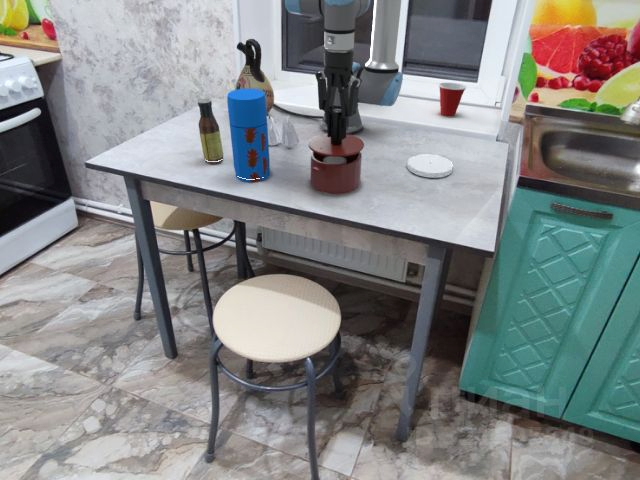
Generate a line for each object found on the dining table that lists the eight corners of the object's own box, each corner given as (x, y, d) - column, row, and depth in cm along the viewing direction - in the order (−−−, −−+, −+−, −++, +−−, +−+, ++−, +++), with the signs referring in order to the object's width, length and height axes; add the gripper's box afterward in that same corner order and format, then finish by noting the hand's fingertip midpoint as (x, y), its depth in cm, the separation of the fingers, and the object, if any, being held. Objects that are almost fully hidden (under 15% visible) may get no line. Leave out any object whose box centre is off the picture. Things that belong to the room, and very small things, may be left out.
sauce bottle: (227, 158, 157) (220, 98, 145) (218, 166, 152) (210, 105, 140) (209, 156, 158) (201, 96, 147) (200, 163, 153) (191, 102, 142)
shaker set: (300, 146, 165) (299, 115, 159) (295, 150, 162) (294, 119, 156) (270, 140, 169) (268, 110, 163) (264, 145, 166) (262, 114, 160)
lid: (297, 149, 134) (296, 112, 128) (329, 132, 145) (329, 97, 139) (344, 163, 126) (345, 125, 120) (374, 144, 137) (376, 108, 131)
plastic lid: (442, 184, 142) (444, 177, 141) (399, 173, 148) (400, 166, 147) (458, 167, 152) (459, 160, 150) (417, 157, 158) (418, 150, 157)
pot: (295, 189, 139) (294, 160, 134) (333, 166, 152) (334, 138, 147) (337, 204, 132) (338, 173, 127) (373, 178, 145) (375, 149, 140)
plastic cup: (465, 113, 195) (470, 83, 188) (456, 120, 187) (461, 90, 181) (440, 108, 200) (444, 79, 193) (430, 115, 192) (434, 85, 185)
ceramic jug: (228, 116, 190) (220, 36, 173) (260, 108, 198) (254, 31, 182) (253, 128, 179) (247, 44, 163) (285, 118, 188) (282, 38, 171)
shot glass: (344, 187, 139) (345, 165, 135) (321, 185, 140) (321, 164, 136) (346, 177, 145) (347, 156, 141) (324, 175, 146) (324, 154, 142)
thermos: (236, 167, 151) (228, 88, 137) (270, 166, 152) (265, 87, 138) (234, 183, 142) (225, 100, 128) (270, 182, 143) (265, 99, 129)
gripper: (304, 47, 122) (305, 134, 135) (358, 57, 114) (353, 148, 127) (321, 42, 127) (320, 127, 140) (374, 51, 119) (368, 139, 133)
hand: (336, 137), depth 134 cm, fingers closed on lid, 3 cm apart
